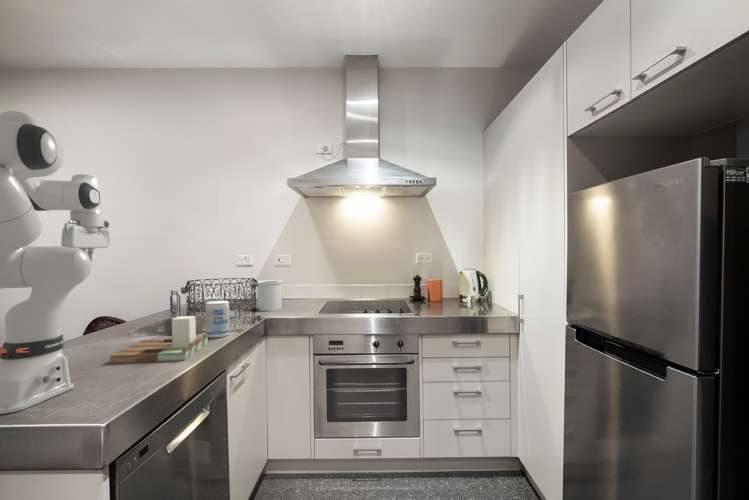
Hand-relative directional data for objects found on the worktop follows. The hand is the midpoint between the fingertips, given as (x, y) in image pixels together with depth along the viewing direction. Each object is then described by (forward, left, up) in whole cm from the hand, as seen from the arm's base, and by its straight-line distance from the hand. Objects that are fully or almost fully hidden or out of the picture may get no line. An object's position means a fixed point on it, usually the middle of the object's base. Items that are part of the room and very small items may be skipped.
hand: (87, 261), depth 131 cm
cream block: (+2, -31, -32) cm, 45 cm away
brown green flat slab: (+2, -24, -34) cm, 42 cm away
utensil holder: (+93, -47, -34) cm, 110 cm away
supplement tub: (+26, -36, -34) cm, 56 cm away
